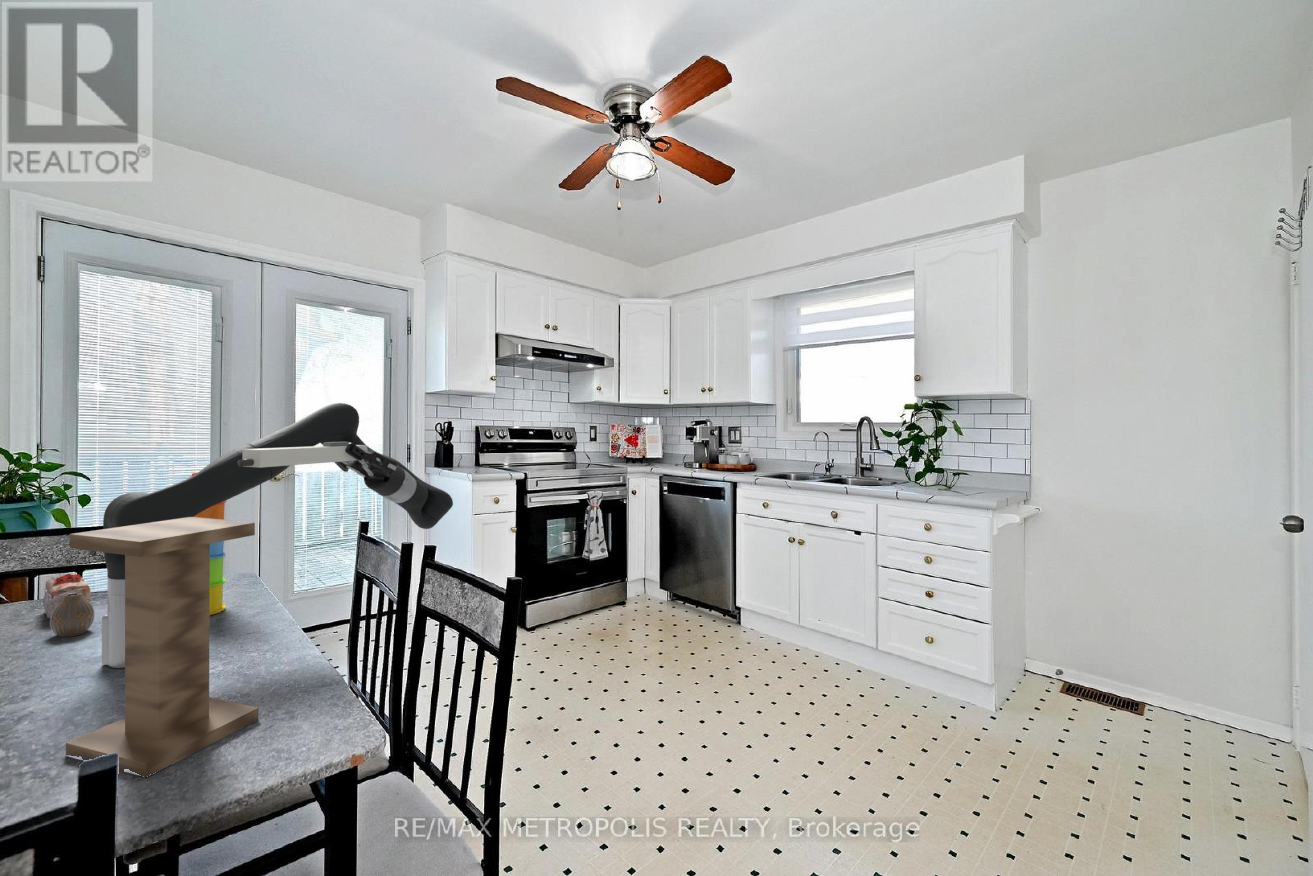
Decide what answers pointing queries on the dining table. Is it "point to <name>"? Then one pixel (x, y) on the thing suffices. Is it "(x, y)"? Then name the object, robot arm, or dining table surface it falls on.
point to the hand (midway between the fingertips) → (339, 446)
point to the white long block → (297, 455)
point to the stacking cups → (215, 560)
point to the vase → (72, 616)
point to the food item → (63, 590)
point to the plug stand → (165, 644)
